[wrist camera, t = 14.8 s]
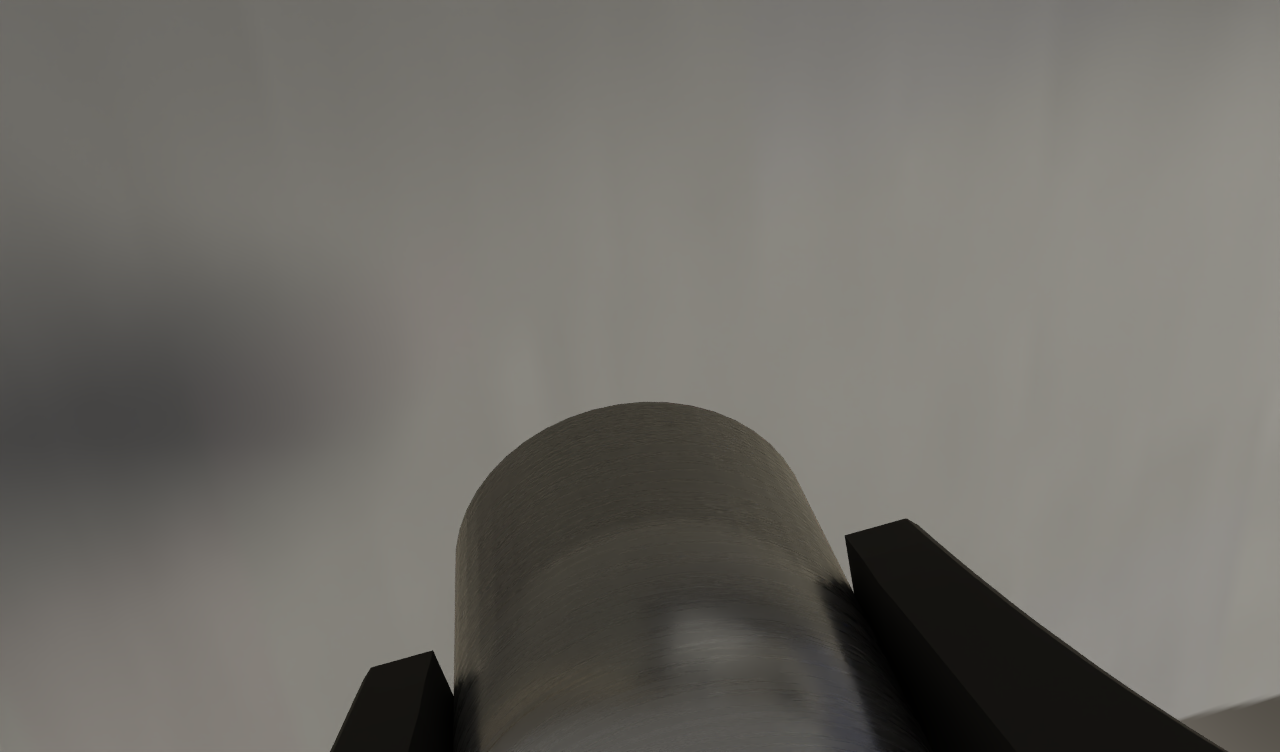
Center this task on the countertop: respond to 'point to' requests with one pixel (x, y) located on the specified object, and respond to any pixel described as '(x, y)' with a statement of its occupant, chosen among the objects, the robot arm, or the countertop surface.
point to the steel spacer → (660, 600)
